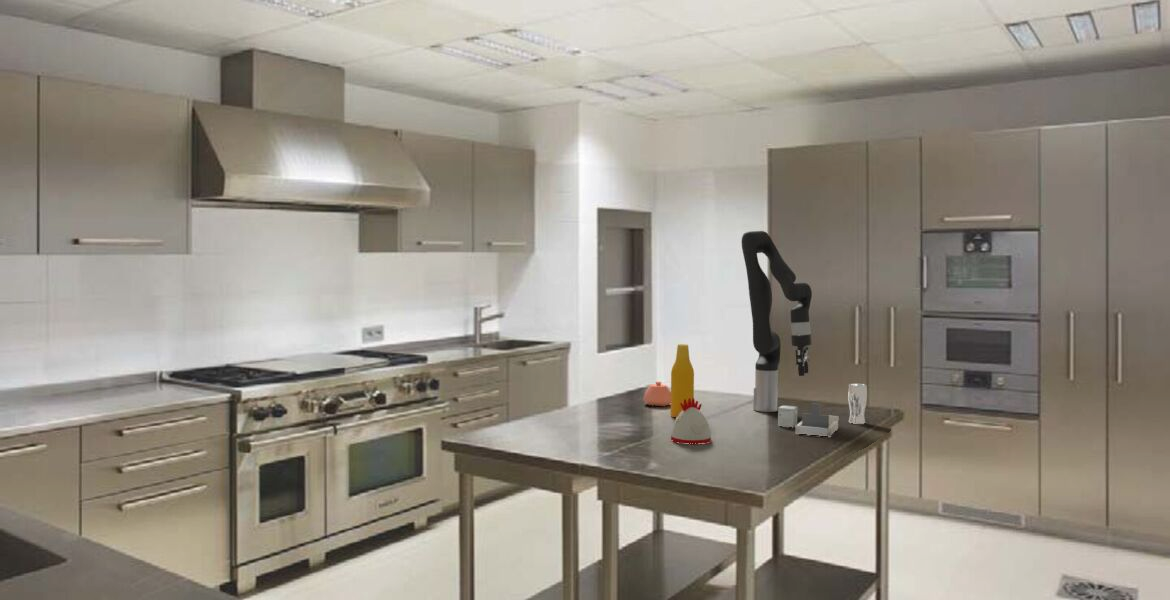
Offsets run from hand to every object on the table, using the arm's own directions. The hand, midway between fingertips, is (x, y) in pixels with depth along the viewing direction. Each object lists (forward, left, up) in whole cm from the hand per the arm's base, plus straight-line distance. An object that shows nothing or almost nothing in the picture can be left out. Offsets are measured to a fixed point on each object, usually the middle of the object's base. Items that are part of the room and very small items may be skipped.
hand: (803, 374), depth 336 cm
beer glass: (+20, +3, -18) cm, 27 cm away
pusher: (+9, -24, -17) cm, 31 cm away
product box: (-3, -15, -18) cm, 24 cm away
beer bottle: (-45, -16, -18) cm, 51 cm away
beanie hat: (-28, -56, -18) cm, 65 cm away
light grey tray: (+9, -20, -18) cm, 28 cm away
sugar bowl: (-63, +5, -18) cm, 66 cm away
